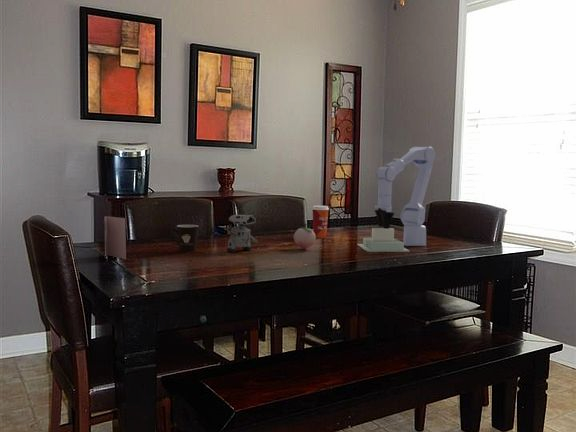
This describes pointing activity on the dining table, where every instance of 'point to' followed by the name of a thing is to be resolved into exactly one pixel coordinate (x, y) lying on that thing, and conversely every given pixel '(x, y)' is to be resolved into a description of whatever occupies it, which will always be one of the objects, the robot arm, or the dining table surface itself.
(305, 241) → the decorative fruit
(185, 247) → the coffee mug
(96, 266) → the dining table surface
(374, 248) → the dish rack
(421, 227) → the robot arm
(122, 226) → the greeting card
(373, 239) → the tile plate
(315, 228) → the coffee cup
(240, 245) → the figurine
